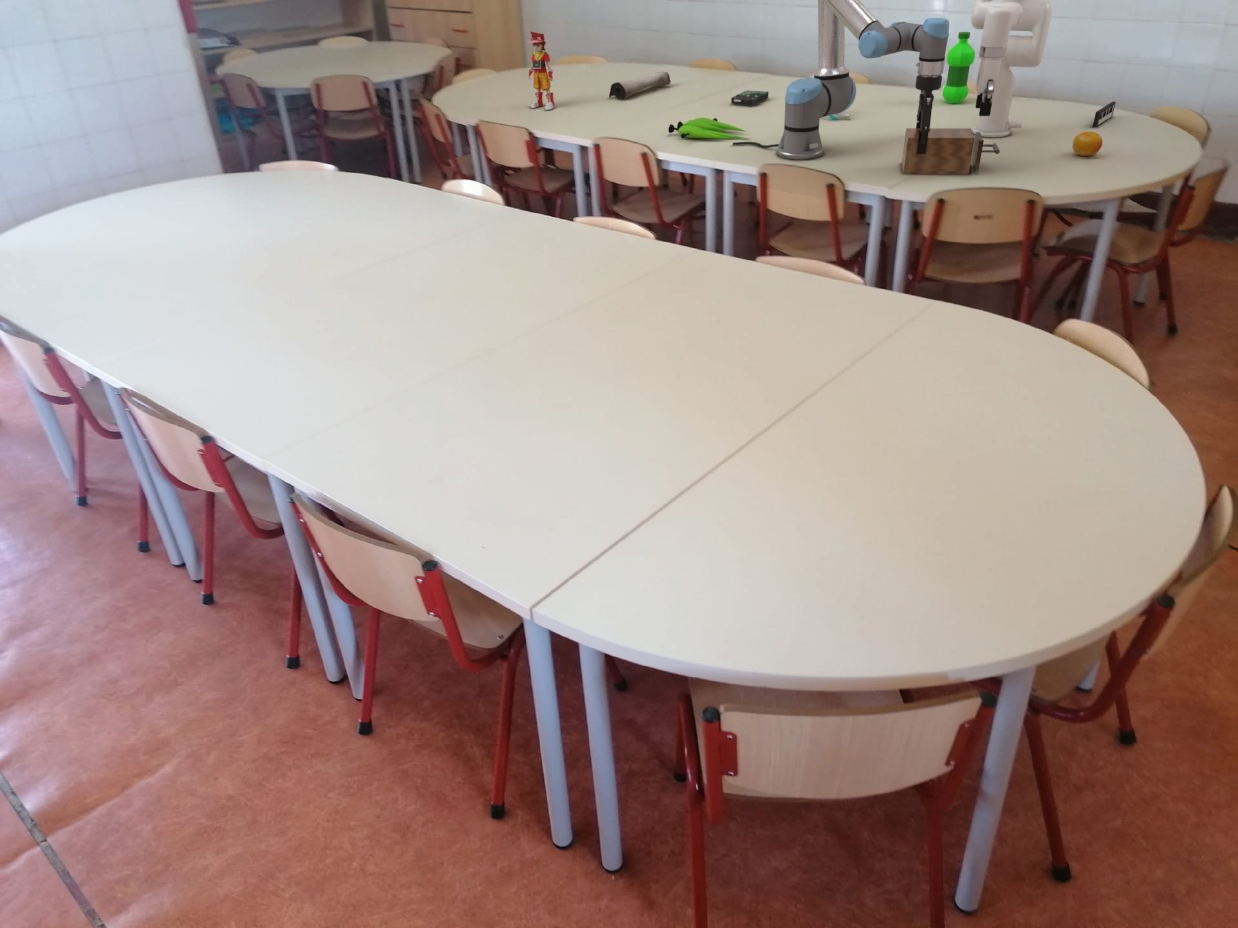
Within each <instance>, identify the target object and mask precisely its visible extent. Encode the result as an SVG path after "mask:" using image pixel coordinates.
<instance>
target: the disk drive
mask: <svg viewBox="0 0 1238 928" xmlns="http://www.w3.org/2000/svg"><path fill="white" fill-rule="evenodd" d="M769 94H770V93H769V91H763V90H762V91H761V90H749V89H748V90H744V91H742V92H740V93H738V94H735V95H734V96H732V97H731V99H730V103H731V105H736V106H737V105H738V106H750V107H753V106H756V105H759V104H760V103H762V102H764V101H766V100H767V99H768V98H769Z"/></svg>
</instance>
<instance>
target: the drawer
mask: <svg viewBox="0 0 1238 928" xmlns="http://www.w3.org/2000/svg"><path fill="white" fill-rule="evenodd" d="M974 138H975V139H974V145H973V151H972V157H971V163H970V164H971V165H972V168H973V170H974V172H978V171H979V170H980V164H981V160H982V153H983V154H984V153H985V154H986V153H988V154H992V153H993V154H995V155H999V154H1000V153H1001V150H1000V149H999V148H1000V147H999V146H998V144H997V143H996V142H993V143H992V144H989V143H988V144H987V143H985V140H984V137H983V136H981V133H980V132H976V134H974ZM984 143H985V144H984ZM984 148H992V149H984Z"/></svg>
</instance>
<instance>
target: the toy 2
mask: <svg viewBox="0 0 1238 928" xmlns="http://www.w3.org/2000/svg"><path fill="white" fill-rule="evenodd" d="M667 131H668V133H669V134H672V133H674V132H675V131H678V134H679V135H680V138H681V139H686V138H691V139H716V140H717V139H718V140H719V139H720V140H721V139H722V140H723V139H725V140H726V139H727V140H728V139H746V140H747V139H749V137H744V136H739V135H735V134H734V135H733V134H729V133H724V131H736V132H746V130H745V129H742V128H740V127H737V126H736V125H735V126H734V125H731V124H729V123H724V122H720V121H718V119H717V118H716V117H714V118H712V119H710V118H708V117H695V118H694V119H691V120H690V119H689V120H687V121H686V122H682V121H678V122H677V125H676V126H675V125H674V124H672V123H670V124H669V126H668V130H667Z"/></svg>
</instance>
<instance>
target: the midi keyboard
mask: <svg viewBox="0 0 1238 928" xmlns="http://www.w3.org/2000/svg"><path fill="white" fill-rule="evenodd" d="M1116 103H1117V102H1116V101H1111V102H1109V103H1108V104H1106V105H1104V106H1103V107H1101V108H1100V109H1098V110H1097V111H1096V112H1095V114H1094V118H1093V122H1092V127H1094V128H1096V127H1098V126H1099V125H1100V124H1102V123H1104V122H1105V121H1107V120H1108V119H1109V118H1111V117H1113V115H1114V111H1115V108H1116Z"/></svg>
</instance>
